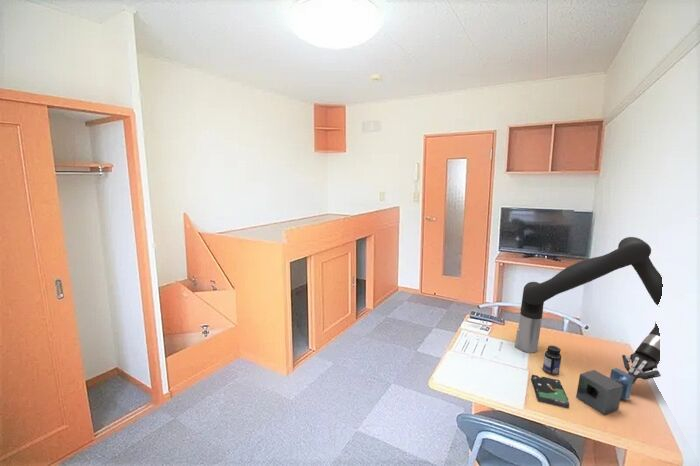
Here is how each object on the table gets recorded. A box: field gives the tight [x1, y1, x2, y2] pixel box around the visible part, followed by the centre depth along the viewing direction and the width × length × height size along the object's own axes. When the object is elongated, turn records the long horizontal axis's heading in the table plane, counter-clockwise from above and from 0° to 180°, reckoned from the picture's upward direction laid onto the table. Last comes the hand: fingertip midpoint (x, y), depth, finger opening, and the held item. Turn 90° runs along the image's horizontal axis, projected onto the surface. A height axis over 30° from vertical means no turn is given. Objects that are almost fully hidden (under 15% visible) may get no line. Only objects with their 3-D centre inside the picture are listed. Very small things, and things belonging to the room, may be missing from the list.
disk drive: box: [530, 374, 570, 409], centre depth 128 cm, size 10×3×15 cm
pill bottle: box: [542, 344, 562, 376], centre depth 141 cm, size 6×6×11 cm
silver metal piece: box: [593, 367, 634, 401], centre depth 124 cm, size 15×6×9 cm, turn 111°
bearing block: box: [575, 369, 623, 416], centre depth 122 cm, size 8×10×10 cm
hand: (627, 382), depth 128 cm, fingers closed
